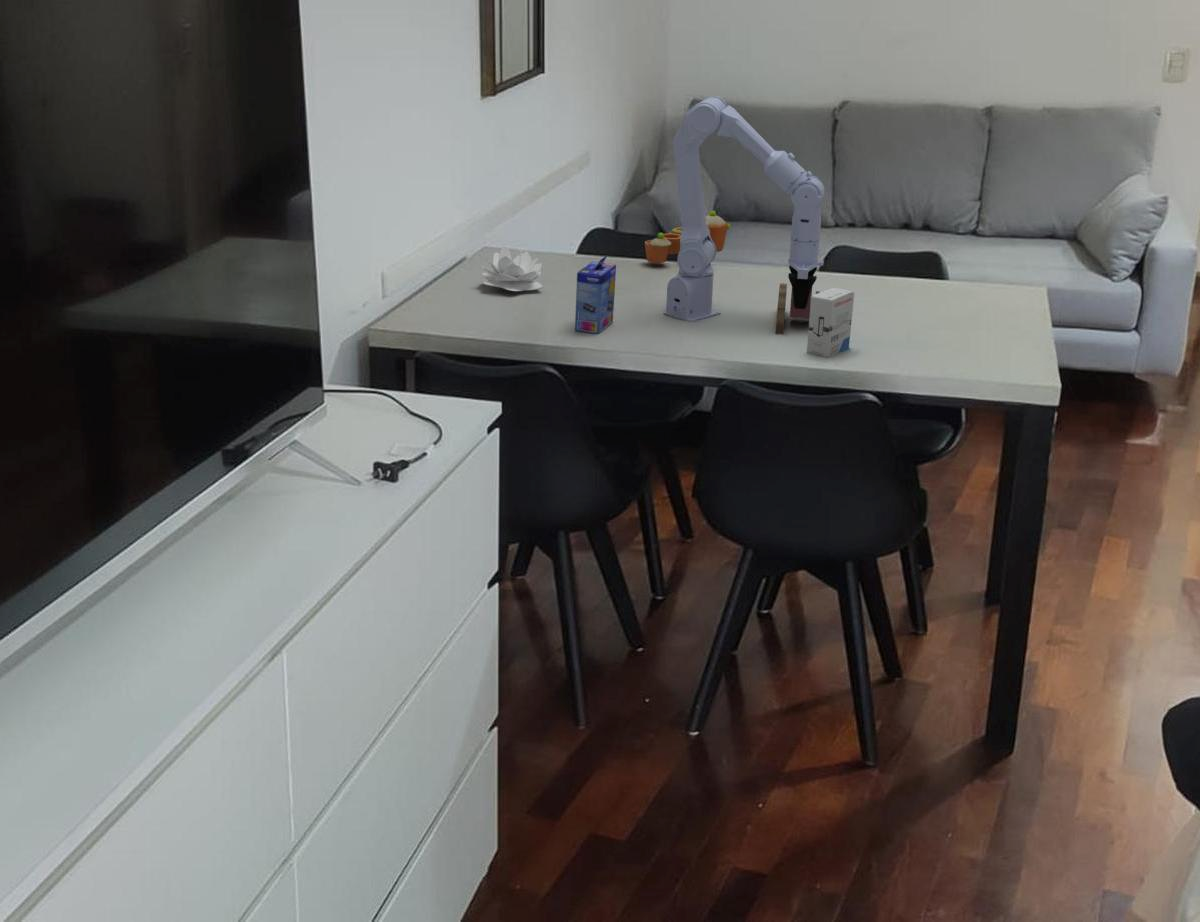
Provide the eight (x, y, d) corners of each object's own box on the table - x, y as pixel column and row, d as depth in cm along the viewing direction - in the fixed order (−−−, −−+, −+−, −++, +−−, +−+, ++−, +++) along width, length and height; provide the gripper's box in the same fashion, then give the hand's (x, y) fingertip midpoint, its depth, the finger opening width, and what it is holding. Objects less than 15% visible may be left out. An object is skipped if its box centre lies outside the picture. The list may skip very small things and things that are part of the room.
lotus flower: (519, 299, 310) (518, 259, 306) (464, 287, 318) (463, 248, 314) (558, 284, 321) (558, 246, 317) (504, 273, 329) (504, 235, 325)
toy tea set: (674, 239, 363) (676, 200, 359) (733, 246, 357) (735, 207, 353) (634, 262, 340) (635, 222, 337) (696, 270, 335) (698, 229, 331)
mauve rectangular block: (809, 319, 294) (812, 285, 292) (789, 317, 295) (792, 284, 292) (810, 311, 299) (813, 279, 296) (790, 310, 299) (793, 277, 297)
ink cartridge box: (600, 335, 287) (601, 263, 281) (573, 331, 288) (574, 260, 283) (615, 321, 296) (617, 251, 290) (589, 318, 297) (590, 249, 292)
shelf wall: (783, 334, 290) (785, 307, 288) (775, 333, 290) (777, 307, 288) (785, 309, 306) (787, 283, 304) (778, 308, 306) (779, 283, 304)
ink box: (828, 344, 284) (833, 285, 280) (850, 349, 282) (855, 290, 277) (805, 354, 278) (809, 294, 274) (827, 359, 275) (832, 299, 271)
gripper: (825, 248, 284) (820, 315, 289) (825, 231, 297) (820, 295, 302) (789, 246, 285) (784, 313, 290) (790, 229, 298) (786, 293, 303)
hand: (800, 304), depth 296 cm, fingers closed on mauve rectangular block, 5 cm apart
